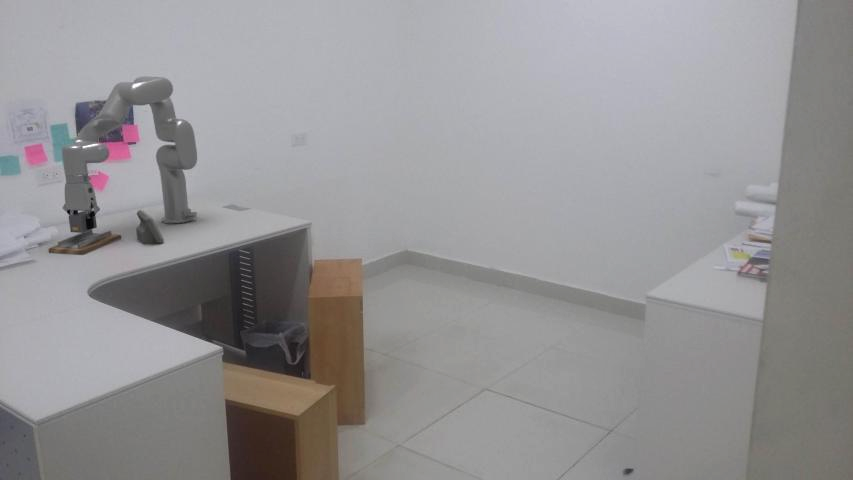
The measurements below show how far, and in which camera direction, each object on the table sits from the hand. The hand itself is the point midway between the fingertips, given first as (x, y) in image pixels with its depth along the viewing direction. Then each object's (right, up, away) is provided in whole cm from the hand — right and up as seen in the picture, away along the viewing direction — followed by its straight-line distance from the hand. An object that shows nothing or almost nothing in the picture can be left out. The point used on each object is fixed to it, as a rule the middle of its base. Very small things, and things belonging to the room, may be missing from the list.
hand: (83, 227), depth 269 cm
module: (0, -1, 0) cm, 1 cm away
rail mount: (0, -6, +2) cm, 7 cm away
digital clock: (+22, -5, +8) cm, 24 cm away
